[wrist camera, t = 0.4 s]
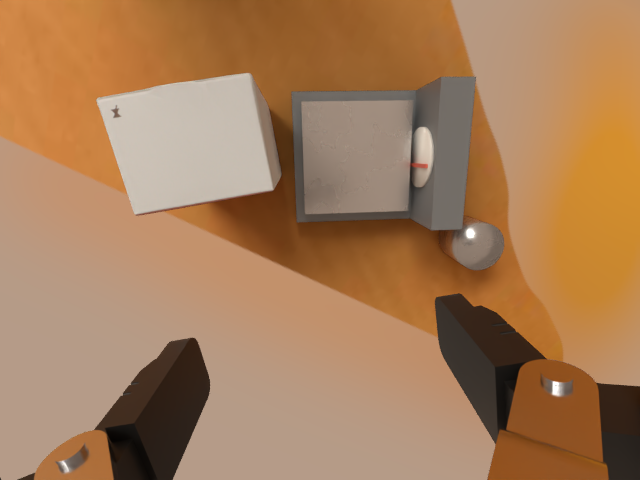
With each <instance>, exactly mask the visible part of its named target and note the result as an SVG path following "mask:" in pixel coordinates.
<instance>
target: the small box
mask: <svg viewBox="0 0 640 480" xmlns="http://www.w3.org/2000/svg"><path fill="white" fill-rule="evenodd" d="M96 101H97V104H98V106H99V109H100V112H101V115H102V118H103V120H104V124H105V127H106V130H107V133H108V136H109V139H110V142H111V145H112V148H113V151H114V154H115V157H116V160H117V163H118V166H119V169H120V172H121V175H122V178H123V181H124V184H125V187H126V190H127V193H128V196H129V199H130V202H131V205H132V208H133V212H134V214H135V215H144V214H150V213H156V212H162V211H168V210H173V209H179V208H185V207H190V206H195V205H201V204H206V203H212V202H218V201H223V200H228V199H233V198H239V197H244V196H251V195H256V194H261V193H266V192H271V191H273V190H274V189H275V187H276V185H277V183H278V181H279V180H280V178H281V176H282V172H281V167H280V161H279V156H278V151H277V146H276V141H275V136H274V130H273V125H272V120H271V115H270V110H269V106H268V105H267V103H266V101H265V99H264V97H263V95H262V94H261V92H260V90H259V88H258V86H257V84H256V83H255V81H254V78H253V76H252V74H250V73H242V74H235V75H228V76H221V77H215V78H209V79H202V80H195V81H188V82H179V83H172V84H166V85H161V86H155V87H152V88H148V89H144V90H138V91H133V92H127V93H122V94H117V95H111V96H106V97H100V98H97V100H96Z"/></svg>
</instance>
